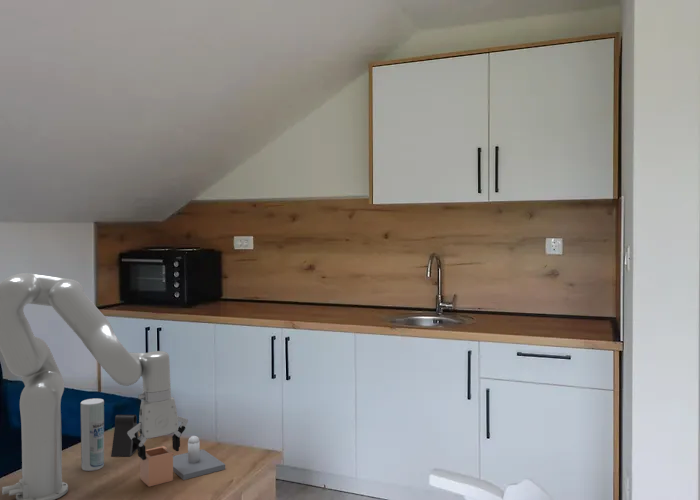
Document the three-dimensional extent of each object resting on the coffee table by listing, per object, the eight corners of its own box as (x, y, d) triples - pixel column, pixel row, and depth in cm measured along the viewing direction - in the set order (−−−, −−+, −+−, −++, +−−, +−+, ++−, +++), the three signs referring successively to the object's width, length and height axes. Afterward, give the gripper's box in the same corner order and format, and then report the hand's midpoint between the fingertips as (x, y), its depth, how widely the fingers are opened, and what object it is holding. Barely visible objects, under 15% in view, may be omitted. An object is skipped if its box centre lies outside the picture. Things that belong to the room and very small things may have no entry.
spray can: (92, 461, 185) (91, 397, 185) (109, 464, 183) (108, 399, 183) (76, 469, 179) (75, 403, 178) (93, 472, 177) (93, 405, 176)
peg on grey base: (183, 479, 171) (183, 448, 171) (163, 463, 184) (163, 433, 184) (225, 469, 179) (225, 438, 179) (203, 453, 192) (202, 425, 192)
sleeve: (148, 486, 167) (148, 458, 167) (140, 478, 172) (140, 451, 172) (173, 480, 171) (173, 452, 171) (164, 472, 177) (164, 445, 176)
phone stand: (122, 446, 198) (122, 410, 198) (140, 446, 198) (140, 411, 198) (110, 456, 189) (110, 419, 189) (129, 456, 189) (129, 419, 189)
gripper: (130, 404, 163) (133, 466, 164) (191, 392, 173) (193, 450, 174) (122, 398, 169) (124, 458, 169) (181, 387, 179) (183, 443, 180)
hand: (159, 454), depth 172 cm, fingers open, 9 cm apart
